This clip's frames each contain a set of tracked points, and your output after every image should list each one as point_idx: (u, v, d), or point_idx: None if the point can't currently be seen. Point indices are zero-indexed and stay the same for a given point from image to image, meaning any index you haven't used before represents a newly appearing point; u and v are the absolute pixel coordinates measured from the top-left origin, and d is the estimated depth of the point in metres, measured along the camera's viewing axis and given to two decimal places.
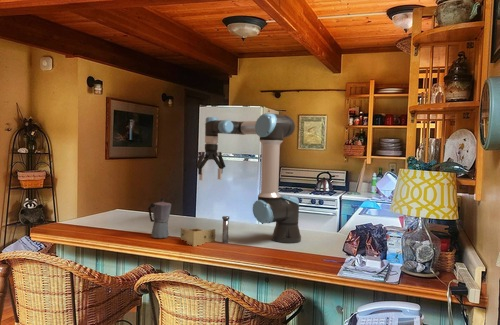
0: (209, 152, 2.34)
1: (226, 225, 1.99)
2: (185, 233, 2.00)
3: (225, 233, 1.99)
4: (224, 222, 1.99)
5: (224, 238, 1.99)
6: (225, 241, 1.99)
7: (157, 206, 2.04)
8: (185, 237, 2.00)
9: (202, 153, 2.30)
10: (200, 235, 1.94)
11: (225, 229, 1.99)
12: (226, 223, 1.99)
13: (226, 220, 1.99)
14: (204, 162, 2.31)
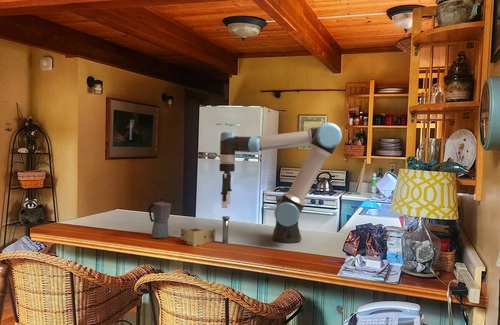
0: (228, 174, 1.97)
1: (226, 225, 1.99)
2: (185, 233, 2.00)
3: (225, 233, 1.99)
4: (224, 222, 1.99)
5: (224, 238, 1.99)
6: (225, 241, 1.99)
7: (157, 206, 2.04)
8: (185, 237, 2.00)
9: (227, 176, 1.92)
10: (200, 235, 1.94)
11: (225, 229, 1.99)
12: (226, 223, 1.99)
13: (226, 220, 1.99)
14: (227, 186, 1.94)
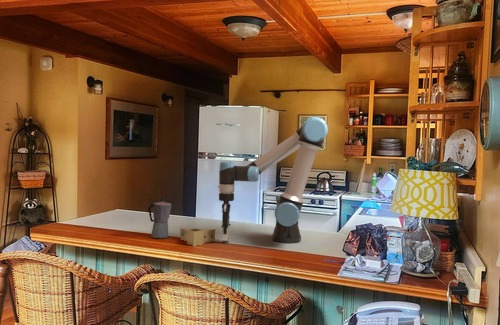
0: (228, 202, 1.97)
1: None
2: (185, 233, 2.00)
3: None
4: None
5: None
6: (225, 241, 1.99)
7: (157, 206, 2.04)
8: (185, 237, 2.00)
9: (226, 210, 1.93)
10: (200, 235, 1.94)
11: None
12: None
13: None
14: None
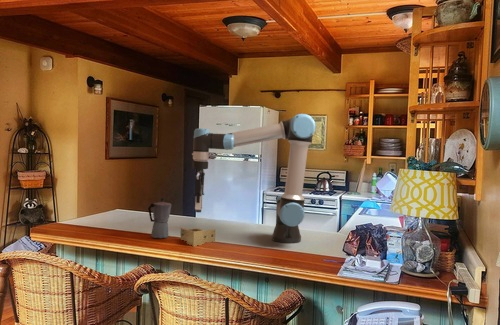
0: (201, 170, 1.92)
1: None
2: (185, 233, 2.00)
3: None
4: None
5: None
6: (198, 210, 1.94)
7: (157, 206, 2.04)
8: (185, 237, 2.00)
9: (199, 177, 1.88)
10: (200, 235, 1.94)
11: None
12: None
13: None
14: None
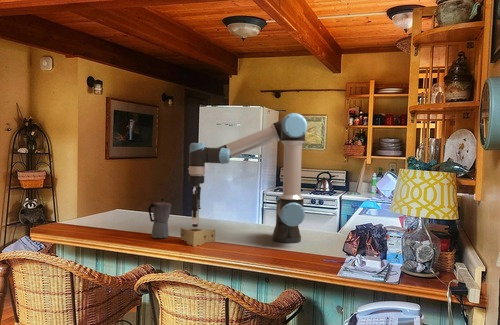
0: (197, 185, 1.92)
1: None
2: (185, 233, 2.00)
3: None
4: None
5: None
6: (195, 224, 1.94)
7: (157, 206, 2.04)
8: (185, 237, 2.00)
9: (195, 192, 1.88)
10: (200, 235, 1.94)
11: None
12: None
13: None
14: (197, 201, 1.92)
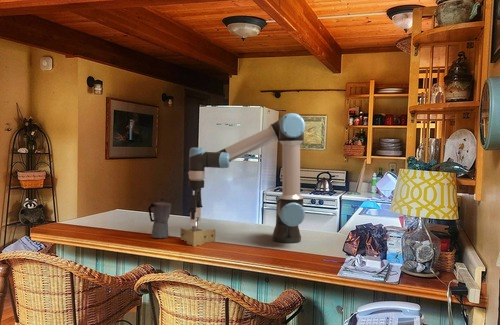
0: (197, 190, 1.92)
1: (195, 226, 1.93)
2: (185, 233, 2.00)
3: None
4: None
5: None
6: None
7: (157, 206, 2.04)
8: (185, 237, 2.00)
9: (195, 193, 1.87)
10: (200, 235, 1.94)
11: None
12: None
13: None
14: (196, 203, 1.89)
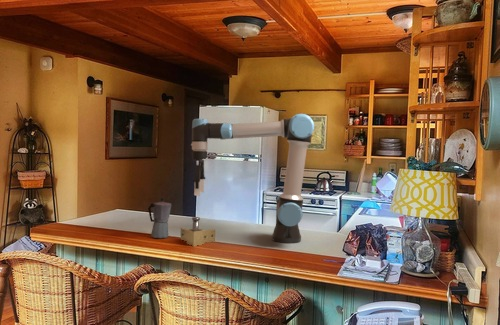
0: (201, 161, 1.95)
1: (196, 226, 1.94)
2: (185, 233, 2.00)
3: None
4: (194, 223, 1.94)
5: None
6: None
7: (157, 206, 2.04)
8: (185, 237, 2.00)
9: (199, 162, 1.90)
10: (200, 235, 1.94)
11: (195, 230, 1.94)
12: (196, 224, 1.94)
13: (196, 221, 1.94)
14: (200, 173, 1.91)
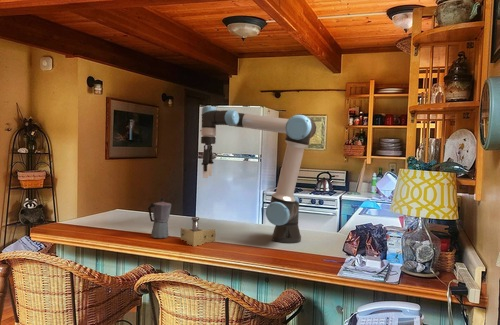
0: (209, 146, 2.08)
1: (196, 226, 1.94)
2: (185, 233, 2.00)
3: None
4: (193, 223, 1.94)
5: None
6: None
7: (157, 206, 2.04)
8: (185, 237, 2.00)
9: (208, 147, 2.03)
10: (200, 235, 1.94)
11: (194, 230, 1.94)
12: (195, 224, 1.93)
13: (195, 221, 1.93)
14: (208, 157, 2.05)
